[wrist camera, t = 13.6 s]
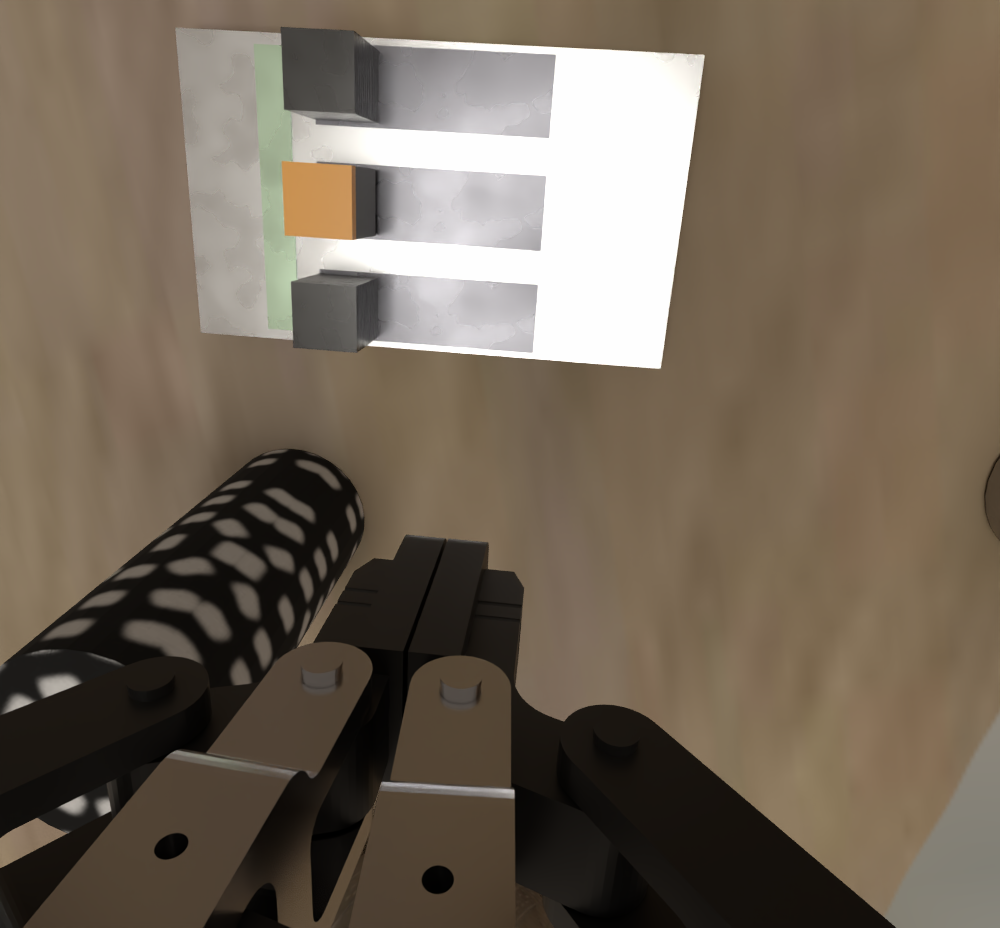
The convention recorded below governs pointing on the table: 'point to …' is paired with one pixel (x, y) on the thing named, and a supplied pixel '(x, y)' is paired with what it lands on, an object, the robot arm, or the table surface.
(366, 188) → the block
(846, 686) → the table surface
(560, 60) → the panel
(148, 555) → the spotted tube
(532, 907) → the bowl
